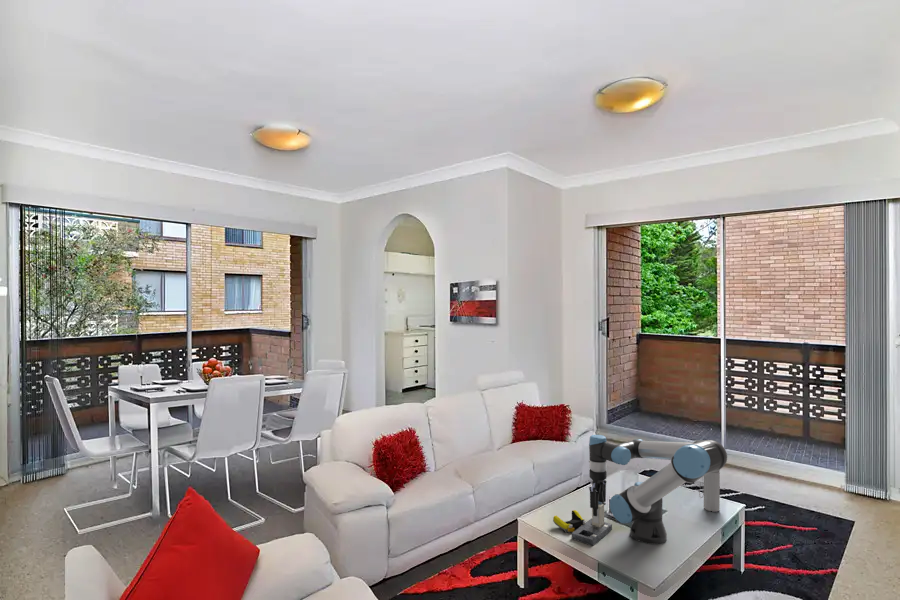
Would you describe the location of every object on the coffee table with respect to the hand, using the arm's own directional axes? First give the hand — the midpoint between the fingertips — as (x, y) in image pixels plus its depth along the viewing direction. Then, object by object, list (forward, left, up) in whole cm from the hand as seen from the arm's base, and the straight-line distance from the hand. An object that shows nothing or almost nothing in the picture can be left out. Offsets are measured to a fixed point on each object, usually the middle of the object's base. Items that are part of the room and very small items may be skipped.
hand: (598, 520), depth 239 cm
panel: (0, +6, -4) cm, 7 cm away
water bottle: (-33, -57, -4) cm, 66 cm away
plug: (0, 0, -4) cm, 4 cm away
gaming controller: (+11, +6, -5) cm, 13 cm away
